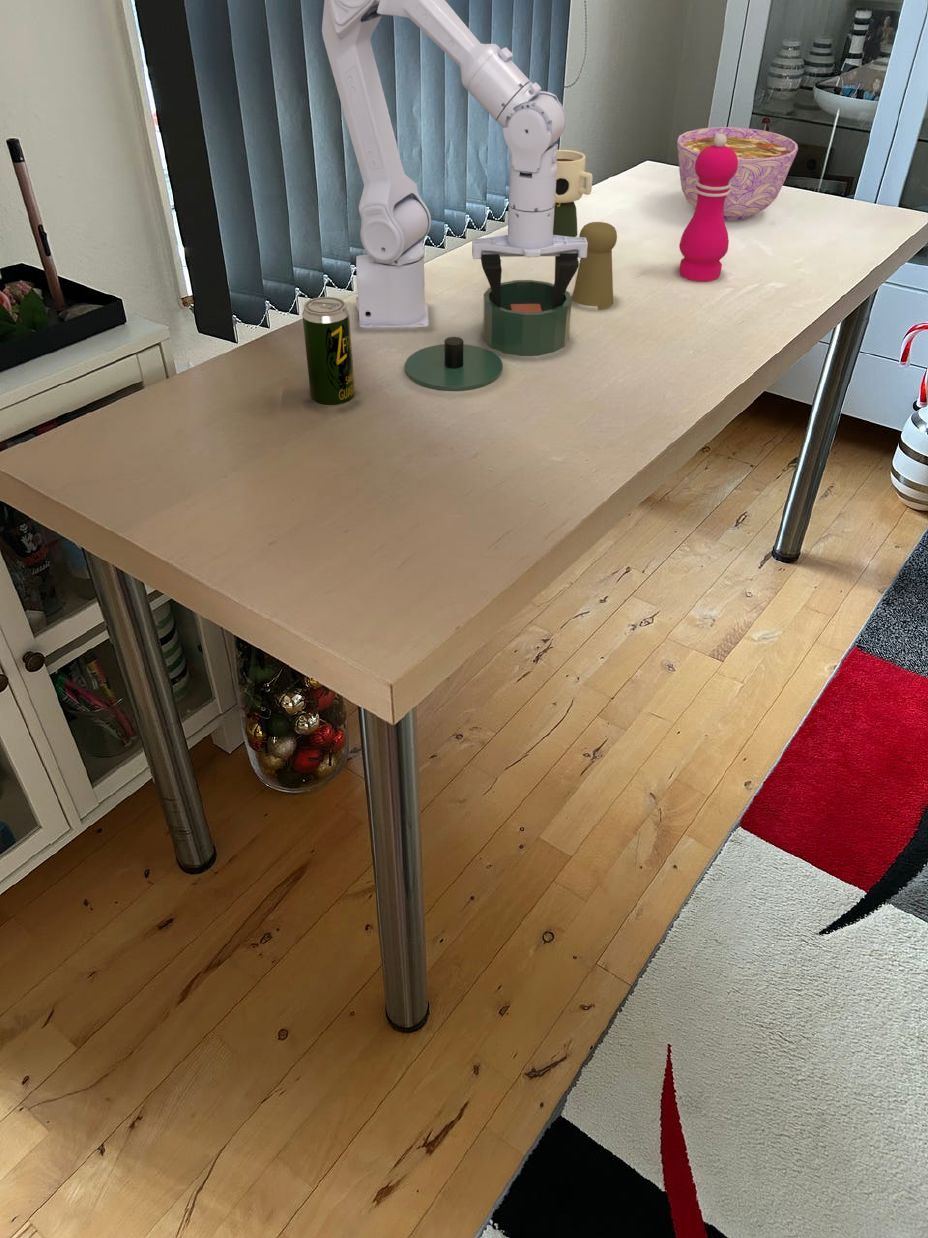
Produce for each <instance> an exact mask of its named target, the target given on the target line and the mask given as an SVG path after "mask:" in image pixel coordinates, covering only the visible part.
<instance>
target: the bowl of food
mask: <svg viewBox="0 0 928 1238" xmlns="http://www.w3.org/2000/svg"><path fill="white" fill-rule="evenodd" d="M718 134H723V135H725V136H726V139H727V141H726V144H725V145H724V146H727V147H729V148H731V149H732V150H733V151H734V152H735V153H736V155H737V158H738V168H737V171H736V174H735V175H734V176H733V177H732V178H731V179H730V181H729V182H730V183H731V187H730V189H729V190H730V193H729V194H728V195H726V198H725V202H724V210H723V213H724V221H727V222H728V221H730V222H731V221H734V222H735V221H740V220H741V221H742V220H744V219H747V218H748V217H749V216H752V215H755V214H757V213H760V212H762V211H764V210H766V209H767V208H768V207H770V205H772V203H773V202H774V201H775V200H776V199H777V197H778V196H779V194H780V192H781V189H782V188H783V186H784V183H785V181H786V178H787V176H788V174H789V171H790V169H791V167H792V165H793V163H794V160H795V159H796V156H797V153H798V150H799V147H798V143H797V142H795V141H794V140H793V139H792V138H789V137H788V136H784V135H782V134H779V133H775V132H772V131H768V130H762V129H755V128H748V127H735V126H733V127H732V126H719V127H718V126H716V127H704V128H697V129H692V130H689V131H686V132H684V133H682V134H680V135H679V136H678V138H677V141H676V144H677V145H676V146H677V156H678V158H677V159H678V170H679V171H678V172H679V181H680V187H681V191H682V193H683V195H684V198H685V199H686V201H687V202H688V203H689V204H690V205H691V206H693V208H695V209H696V204H697V194H698V193H697V192H696V191H695V188H696V181H697V180H699V177H698V176H697V174H696V172H695V163H696V159H697V157H698V155H699V153H700V152H701V151H702V150H703V149H704V148H706V147H708V146H711V145H714V138H715V137H716V136H717V135H718Z"/></svg>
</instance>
